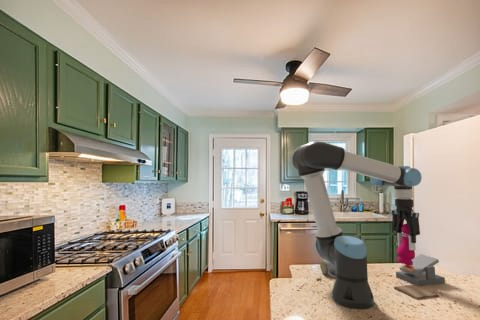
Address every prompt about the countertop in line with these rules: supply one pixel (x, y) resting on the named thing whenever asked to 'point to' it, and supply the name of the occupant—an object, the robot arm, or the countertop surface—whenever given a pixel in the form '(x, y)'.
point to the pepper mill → (405, 248)
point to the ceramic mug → (328, 268)
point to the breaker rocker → (419, 265)
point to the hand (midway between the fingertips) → (406, 248)
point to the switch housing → (422, 277)
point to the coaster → (416, 291)
